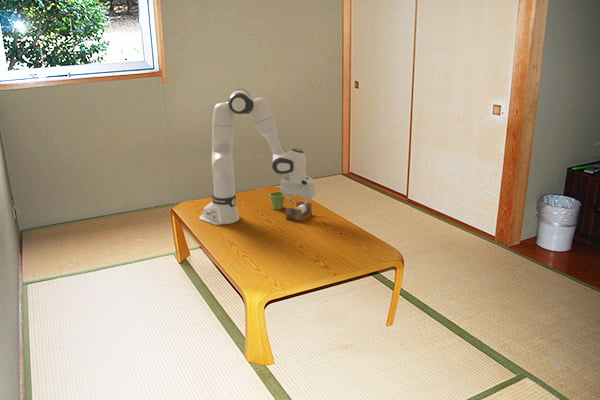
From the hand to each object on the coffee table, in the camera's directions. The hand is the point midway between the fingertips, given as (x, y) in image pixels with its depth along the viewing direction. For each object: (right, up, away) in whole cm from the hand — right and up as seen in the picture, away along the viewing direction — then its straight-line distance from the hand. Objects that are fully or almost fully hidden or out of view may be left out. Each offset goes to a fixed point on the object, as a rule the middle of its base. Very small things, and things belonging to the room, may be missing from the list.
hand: (297, 203), depth 290 cm
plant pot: (-11, -3, +17) cm, 21 cm away
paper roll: (+1, -7, +3) cm, 7 cm away
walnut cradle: (+1, -8, +3) cm, 8 cm away
